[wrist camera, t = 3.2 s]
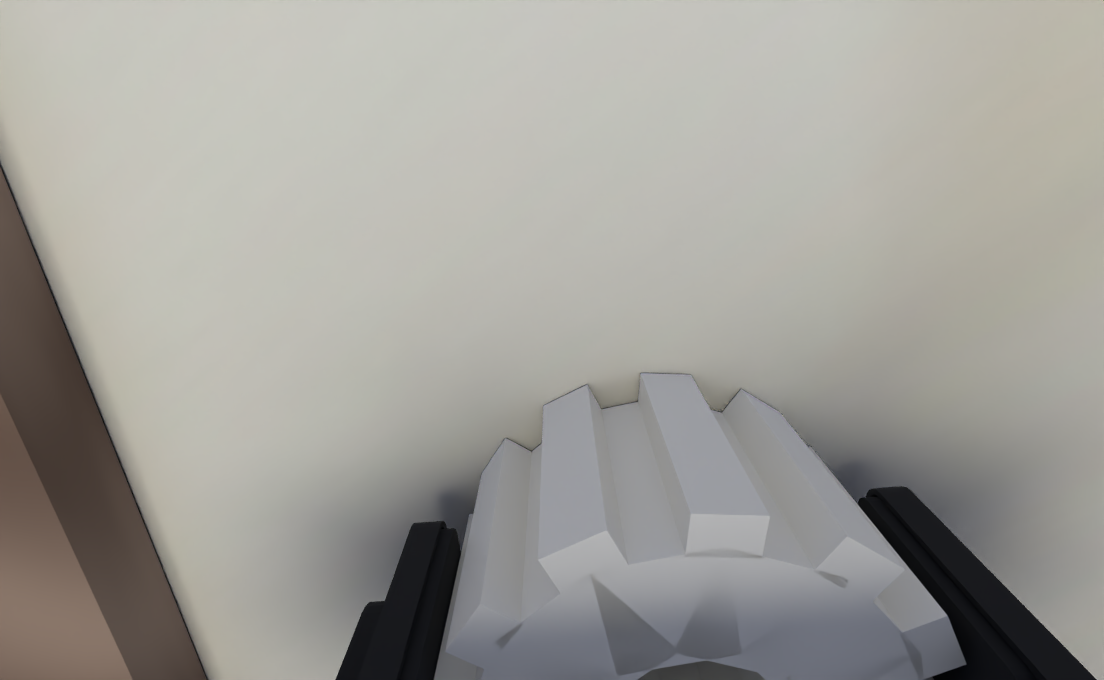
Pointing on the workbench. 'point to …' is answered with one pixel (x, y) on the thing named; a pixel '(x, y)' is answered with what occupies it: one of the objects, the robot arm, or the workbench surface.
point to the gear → (680, 555)
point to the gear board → (68, 508)
